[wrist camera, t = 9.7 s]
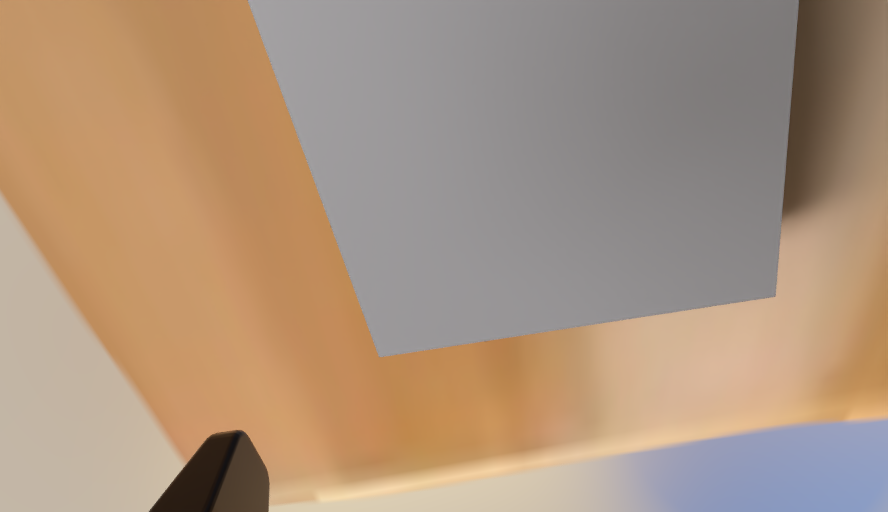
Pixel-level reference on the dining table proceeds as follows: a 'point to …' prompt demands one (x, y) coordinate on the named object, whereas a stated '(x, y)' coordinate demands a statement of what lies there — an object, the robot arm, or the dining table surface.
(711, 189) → the gray plinth
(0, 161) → the dining table surface
